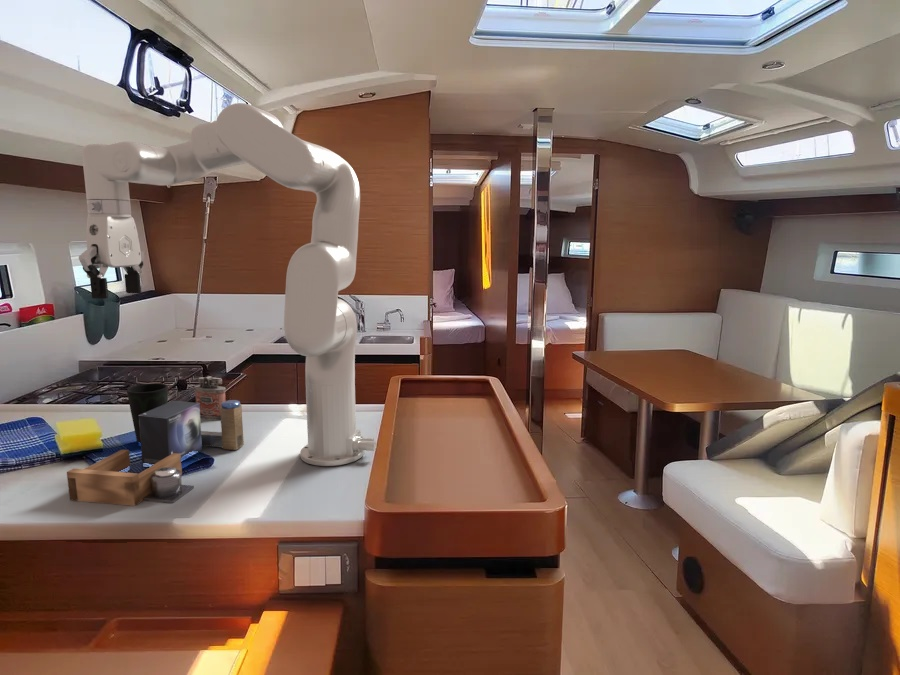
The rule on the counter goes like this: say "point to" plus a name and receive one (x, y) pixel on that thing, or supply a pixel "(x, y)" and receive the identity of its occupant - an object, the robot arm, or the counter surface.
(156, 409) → the small box
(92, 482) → the bay
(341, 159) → the robot arm
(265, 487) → the counter surface
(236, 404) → the container
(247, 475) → the counter surface
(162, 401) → the cup
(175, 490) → the drum
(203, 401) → the lighter
